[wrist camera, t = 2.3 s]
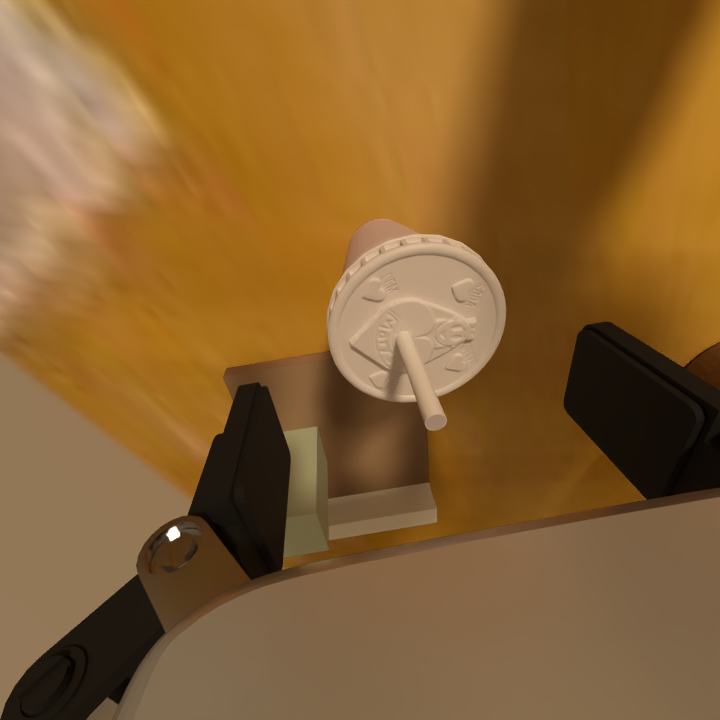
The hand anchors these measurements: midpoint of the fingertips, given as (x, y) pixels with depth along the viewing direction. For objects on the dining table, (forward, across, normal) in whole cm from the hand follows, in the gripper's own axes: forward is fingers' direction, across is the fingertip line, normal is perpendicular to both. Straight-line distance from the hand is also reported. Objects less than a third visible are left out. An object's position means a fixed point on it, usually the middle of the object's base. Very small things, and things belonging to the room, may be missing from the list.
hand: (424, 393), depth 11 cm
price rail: (+13, +4, +20) cm, 24 cm away
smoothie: (+12, -1, -1) cm, 12 cm away
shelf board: (+12, +4, +13) cm, 18 cm away
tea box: (+12, +8, +12) cm, 19 cm away
